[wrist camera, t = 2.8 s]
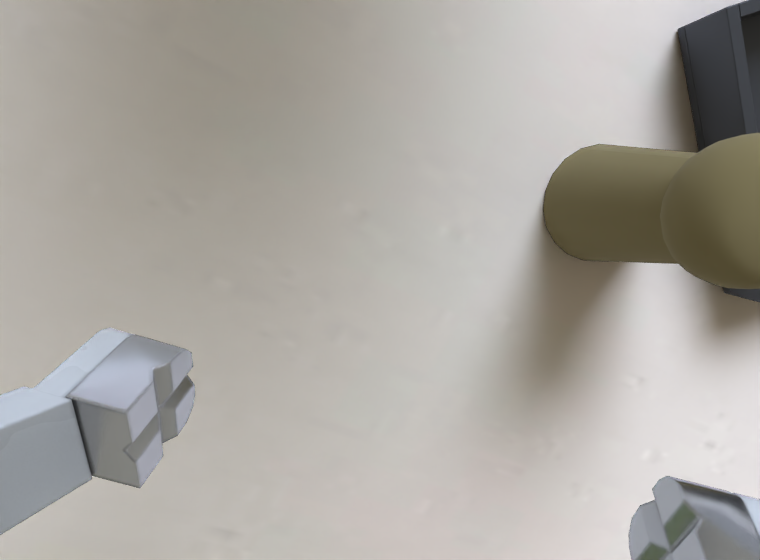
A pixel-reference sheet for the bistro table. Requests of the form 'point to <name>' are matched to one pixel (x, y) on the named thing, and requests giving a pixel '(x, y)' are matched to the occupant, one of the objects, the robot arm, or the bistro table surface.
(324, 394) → the bistro table surface
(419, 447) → the bistro table surface
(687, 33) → the bin
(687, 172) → the olive pawn
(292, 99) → the bistro table surface
